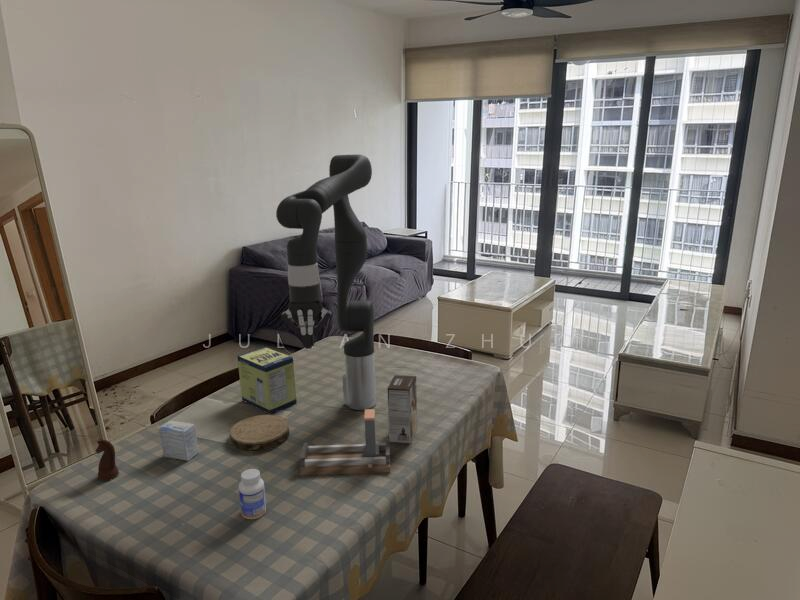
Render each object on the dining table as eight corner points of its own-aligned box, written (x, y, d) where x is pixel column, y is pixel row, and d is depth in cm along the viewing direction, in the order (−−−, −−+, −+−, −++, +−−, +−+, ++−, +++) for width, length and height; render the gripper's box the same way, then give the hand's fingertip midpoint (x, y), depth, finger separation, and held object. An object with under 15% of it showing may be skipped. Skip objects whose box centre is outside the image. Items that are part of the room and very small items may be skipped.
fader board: (300, 475, 136) (299, 461, 135) (305, 453, 146) (304, 440, 145) (390, 472, 137) (390, 457, 136) (389, 450, 146) (389, 437, 145)
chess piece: (106, 470, 140) (100, 434, 137) (124, 471, 139) (118, 435, 137) (93, 480, 136) (87, 444, 133) (112, 482, 135) (106, 445, 132)
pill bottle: (243, 505, 125) (239, 467, 122) (268, 503, 125) (264, 465, 123) (239, 521, 120) (234, 481, 117) (264, 519, 120) (260, 479, 118)
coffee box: (395, 426, 159) (394, 374, 155) (417, 427, 158) (416, 375, 154) (388, 442, 151) (386, 387, 146) (411, 444, 149) (410, 389, 145)
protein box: (268, 390, 185) (264, 346, 181) (297, 403, 175) (294, 357, 171) (240, 400, 177) (236, 355, 173) (270, 415, 167) (265, 367, 163)
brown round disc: (234, 458, 145) (233, 447, 144) (228, 430, 159) (227, 421, 158) (294, 445, 151) (294, 435, 150) (283, 419, 165) (283, 410, 164)
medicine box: (199, 453, 147) (195, 423, 145) (187, 462, 143) (183, 431, 141) (174, 448, 150) (170, 419, 147) (163, 457, 146) (158, 427, 143)
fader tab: (363, 461, 139) (361, 418, 135) (363, 451, 143) (361, 409, 140) (379, 460, 139) (377, 417, 136) (379, 450, 143) (377, 409, 140)
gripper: (332, 276, 139) (336, 341, 144) (279, 278, 139) (285, 343, 144) (329, 284, 132) (333, 352, 137) (274, 285, 132) (279, 353, 137)
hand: (308, 347), depth 141 cm, fingers closed
